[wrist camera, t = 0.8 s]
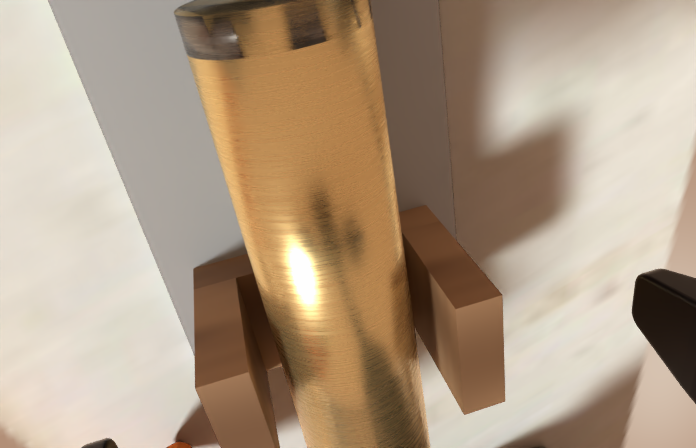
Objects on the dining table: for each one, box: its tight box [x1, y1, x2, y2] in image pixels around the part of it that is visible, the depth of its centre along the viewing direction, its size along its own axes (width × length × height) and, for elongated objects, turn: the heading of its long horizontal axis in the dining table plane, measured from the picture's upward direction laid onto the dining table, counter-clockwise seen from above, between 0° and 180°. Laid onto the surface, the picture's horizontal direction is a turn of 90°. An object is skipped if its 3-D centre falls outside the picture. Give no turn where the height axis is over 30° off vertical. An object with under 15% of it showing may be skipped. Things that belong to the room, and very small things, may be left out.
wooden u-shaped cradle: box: [193, 205, 505, 448], centre depth 17 cm, size 4×8×5 cm, turn 100°
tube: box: [174, 0, 430, 448], centre depth 15 cm, size 15×4×4 cm, turn 10°
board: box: [48, 0, 457, 356], centre depth 16 cm, size 19×10×1 cm, turn 10°
